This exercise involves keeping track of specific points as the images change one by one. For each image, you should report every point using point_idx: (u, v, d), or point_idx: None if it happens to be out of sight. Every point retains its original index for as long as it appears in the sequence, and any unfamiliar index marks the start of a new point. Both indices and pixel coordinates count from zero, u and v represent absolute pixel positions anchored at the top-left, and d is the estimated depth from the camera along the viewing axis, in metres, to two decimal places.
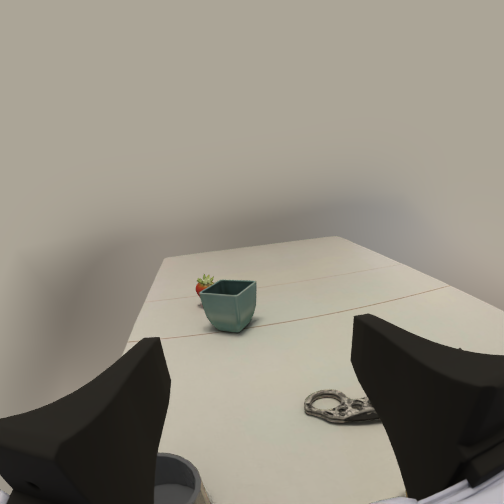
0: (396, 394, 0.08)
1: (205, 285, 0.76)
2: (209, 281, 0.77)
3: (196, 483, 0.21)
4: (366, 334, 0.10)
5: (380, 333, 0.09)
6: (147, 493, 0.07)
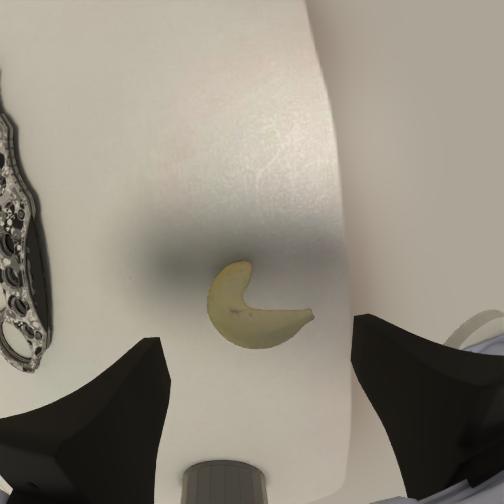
0: (396, 394, 0.08)
1: None
2: None
3: None
4: (366, 334, 0.10)
5: (380, 333, 0.09)
6: (147, 493, 0.07)
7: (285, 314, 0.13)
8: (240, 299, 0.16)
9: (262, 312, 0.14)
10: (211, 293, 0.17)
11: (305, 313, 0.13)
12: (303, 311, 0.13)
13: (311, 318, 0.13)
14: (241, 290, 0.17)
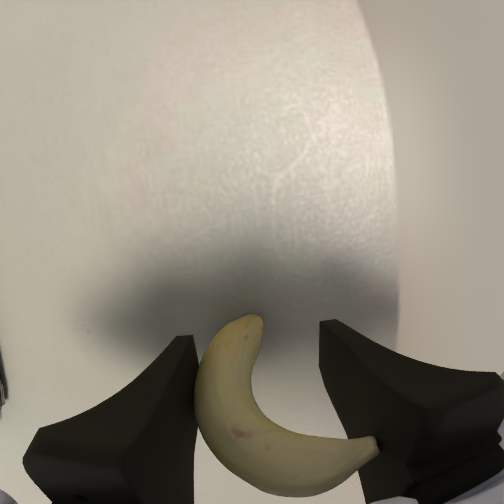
0: (355, 404, 0.08)
1: None
2: None
3: None
4: (329, 341, 0.10)
5: (340, 340, 0.09)
6: (189, 495, 0.07)
7: (331, 452, 0.06)
8: (248, 398, 0.09)
9: (289, 443, 0.07)
10: (200, 380, 0.10)
11: (365, 447, 0.06)
12: (362, 443, 0.06)
13: (375, 455, 0.06)
14: (249, 374, 0.10)
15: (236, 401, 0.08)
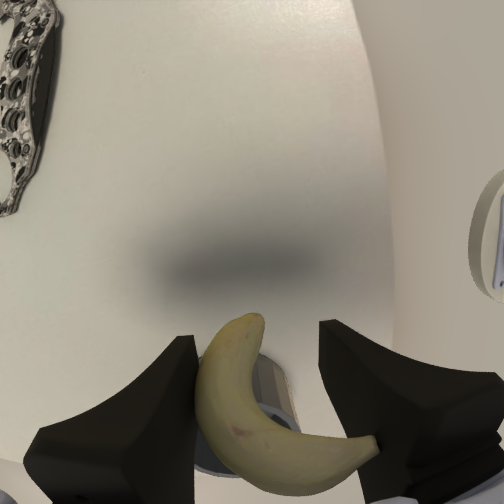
0: (355, 404, 0.08)
1: None
2: None
3: None
4: (329, 341, 0.10)
5: (340, 340, 0.09)
6: (189, 495, 0.07)
7: (331, 451, 0.06)
8: (248, 396, 0.09)
9: (288, 442, 0.07)
10: (201, 379, 0.10)
11: (365, 447, 0.06)
12: (361, 442, 0.06)
13: (375, 455, 0.06)
14: (249, 373, 0.10)
15: (236, 400, 0.08)
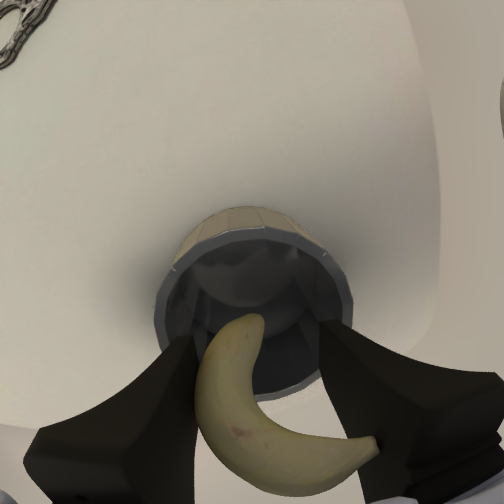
0: (355, 404, 0.08)
1: None
2: None
3: (243, 238, 0.12)
4: (329, 341, 0.10)
5: (340, 341, 0.09)
6: (189, 495, 0.07)
7: (331, 452, 0.06)
8: (248, 397, 0.09)
9: (288, 442, 0.07)
10: (201, 379, 0.10)
11: (365, 447, 0.06)
12: (361, 443, 0.06)
13: (375, 455, 0.06)
14: (249, 374, 0.10)
15: (236, 400, 0.08)
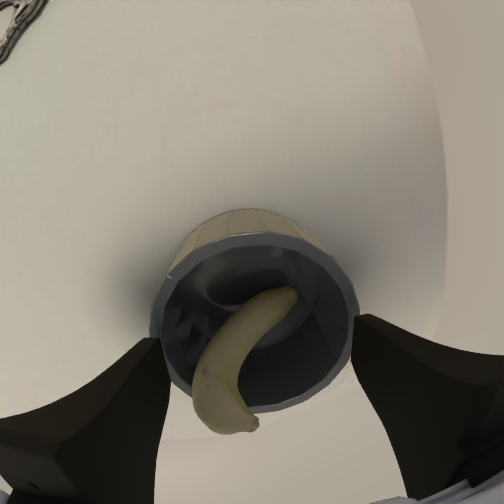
0: (396, 394, 0.08)
1: None
2: None
3: (244, 243, 0.11)
4: (366, 334, 0.10)
5: (380, 333, 0.09)
6: (147, 493, 0.07)
7: (226, 410, 0.10)
8: (233, 352, 0.13)
9: (216, 391, 0.11)
10: (219, 328, 0.14)
11: (243, 421, 0.09)
12: (245, 417, 0.10)
13: (247, 431, 0.09)
14: (250, 335, 0.14)
15: (221, 351, 0.13)
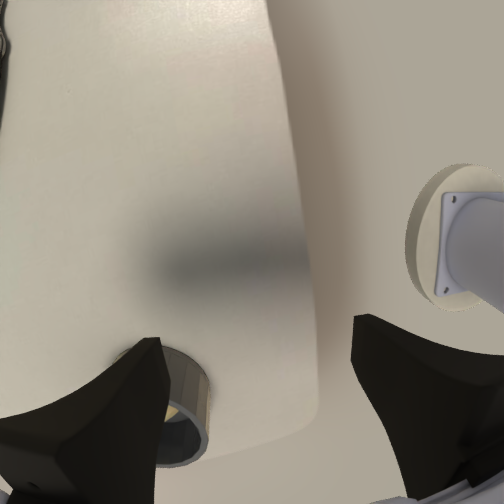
0: (396, 394, 0.08)
1: None
2: None
3: None
4: (366, 334, 0.10)
5: (380, 333, 0.09)
6: (147, 493, 0.07)
7: None
8: None
9: None
10: None
11: None
12: None
13: None
14: None
15: None
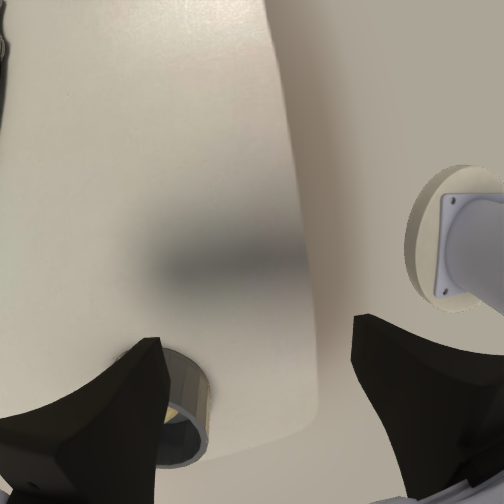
0: (396, 394, 0.08)
1: None
2: None
3: None
4: (366, 334, 0.10)
5: (380, 333, 0.09)
6: (147, 493, 0.07)
7: None
8: None
9: None
10: None
11: None
12: None
13: None
14: None
15: None
